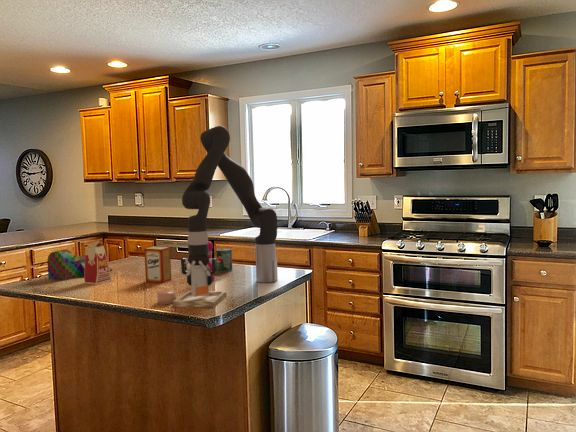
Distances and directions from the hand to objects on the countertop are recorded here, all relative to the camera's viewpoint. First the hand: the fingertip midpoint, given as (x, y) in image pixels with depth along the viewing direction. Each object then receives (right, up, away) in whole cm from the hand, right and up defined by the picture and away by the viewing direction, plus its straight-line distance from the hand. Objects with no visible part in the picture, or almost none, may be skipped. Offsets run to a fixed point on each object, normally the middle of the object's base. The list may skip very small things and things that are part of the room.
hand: (199, 284), depth 188 cm
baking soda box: (-26, -4, +40) cm, 48 cm away
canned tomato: (+2, -1, +61) cm, 61 cm away
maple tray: (0, -6, 0) cm, 6 cm away
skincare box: (0, -4, 0) cm, 4 cm away
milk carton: (-56, -5, +41) cm, 69 cm away
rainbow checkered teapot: (-71, -4, +59) cm, 93 cm away
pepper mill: (-3, -3, +39) cm, 39 cm away
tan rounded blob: (-13, -7, +1) cm, 15 cm away
